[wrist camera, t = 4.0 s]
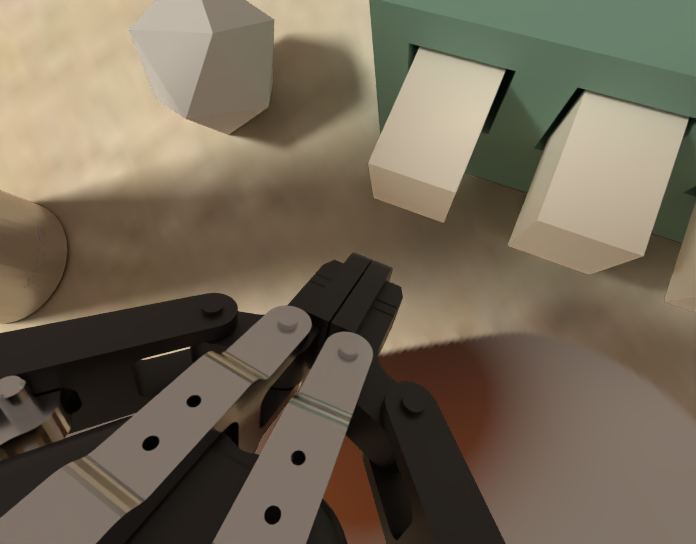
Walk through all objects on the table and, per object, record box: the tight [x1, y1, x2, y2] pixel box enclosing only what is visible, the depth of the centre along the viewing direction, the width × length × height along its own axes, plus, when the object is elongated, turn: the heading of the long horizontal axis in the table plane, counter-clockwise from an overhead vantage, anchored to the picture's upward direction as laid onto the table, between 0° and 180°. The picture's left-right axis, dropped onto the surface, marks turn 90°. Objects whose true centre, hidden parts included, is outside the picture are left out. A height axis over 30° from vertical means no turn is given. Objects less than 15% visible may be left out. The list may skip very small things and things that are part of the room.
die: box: [128, 0, 274, 135], centre depth 23 cm, size 8×9×10 cm
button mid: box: [508, 89, 689, 275], centre depth 16 cm, size 4×6×4 cm, turn 156°
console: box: [369, 0, 696, 243], centre depth 16 cm, size 22×10×16 cm, turn 66°
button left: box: [368, 46, 506, 223], centre depth 17 cm, size 4×6×4 cm, turn 157°
